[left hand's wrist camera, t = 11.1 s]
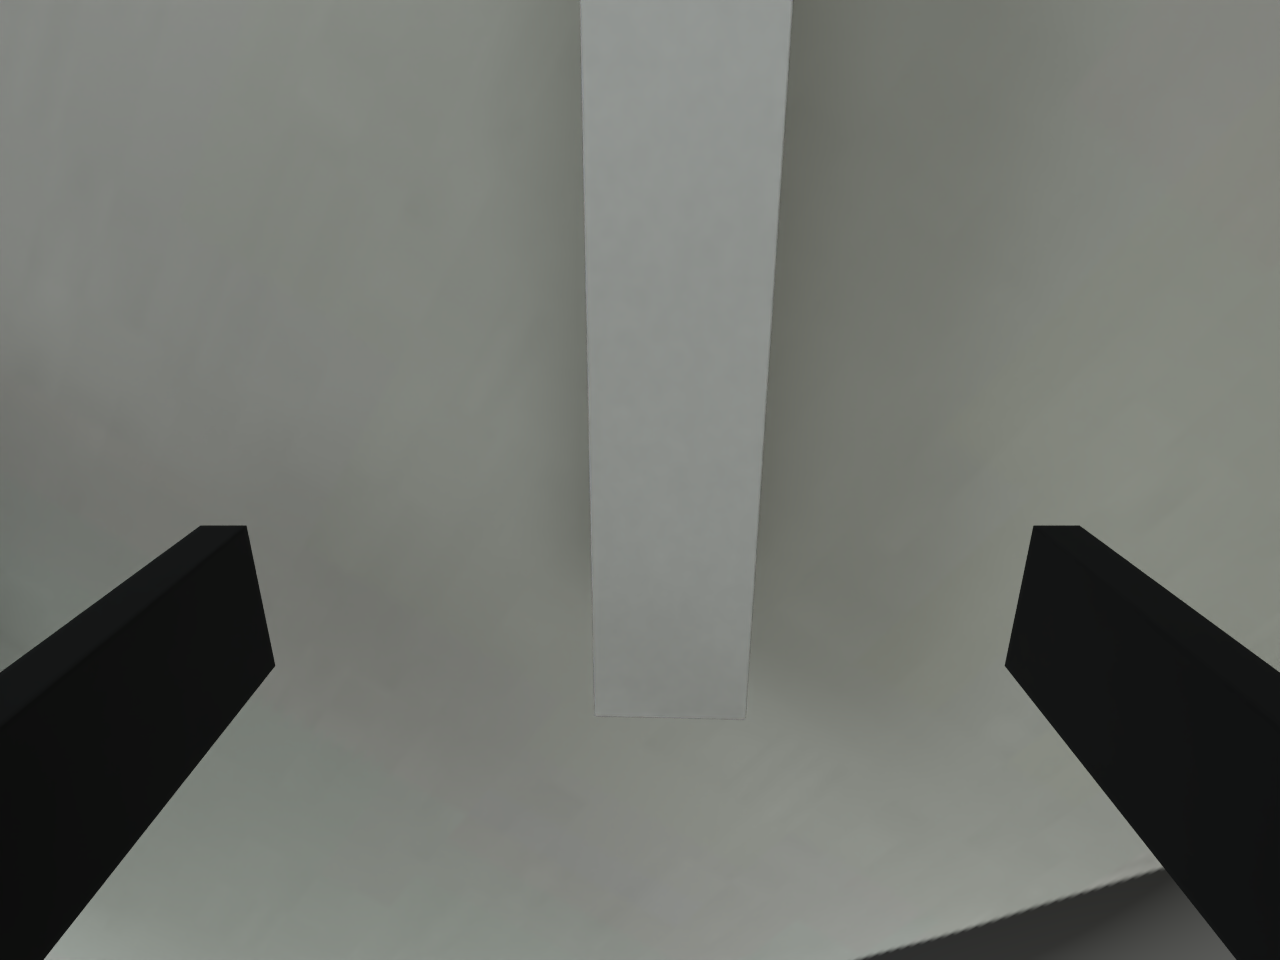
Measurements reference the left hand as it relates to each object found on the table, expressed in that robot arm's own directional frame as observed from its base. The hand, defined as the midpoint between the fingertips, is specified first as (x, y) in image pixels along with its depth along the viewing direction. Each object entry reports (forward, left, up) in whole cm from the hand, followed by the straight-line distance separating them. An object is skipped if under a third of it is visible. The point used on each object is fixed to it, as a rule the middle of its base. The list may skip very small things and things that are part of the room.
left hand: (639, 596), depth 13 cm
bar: (+8, +21, -13) cm, 26 cm away
